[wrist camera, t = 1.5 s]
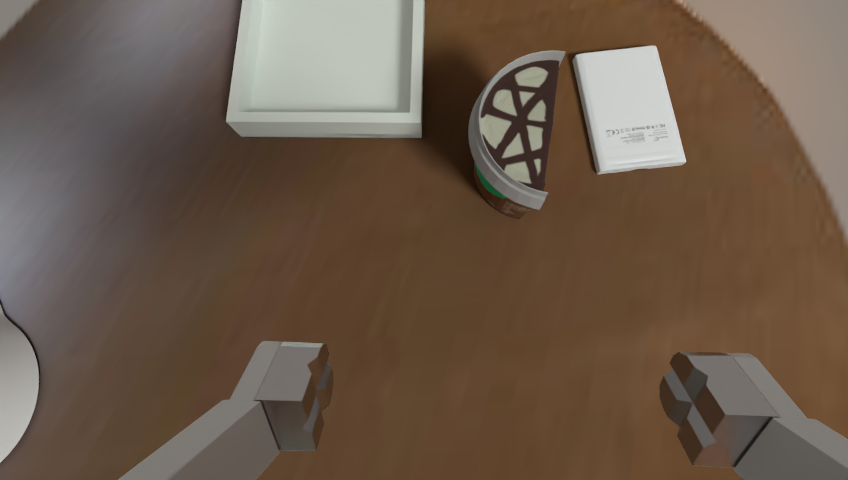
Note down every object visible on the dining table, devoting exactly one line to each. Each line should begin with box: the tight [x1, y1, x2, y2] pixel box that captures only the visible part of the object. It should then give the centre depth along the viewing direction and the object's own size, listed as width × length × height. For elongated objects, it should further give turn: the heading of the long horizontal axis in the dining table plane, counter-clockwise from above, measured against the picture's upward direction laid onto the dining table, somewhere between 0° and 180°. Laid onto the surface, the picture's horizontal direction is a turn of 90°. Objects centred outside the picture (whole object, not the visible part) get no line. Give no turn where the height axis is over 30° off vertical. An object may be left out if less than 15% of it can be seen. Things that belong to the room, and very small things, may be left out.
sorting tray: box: [226, 0, 425, 138], centre depth 40 cm, size 18×24×3 cm
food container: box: [468, 51, 565, 219], centre depth 33 cm, size 12×6×10 cm, turn 170°
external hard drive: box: [572, 46, 686, 174], centre depth 39 cm, size 2×8×12 cm
